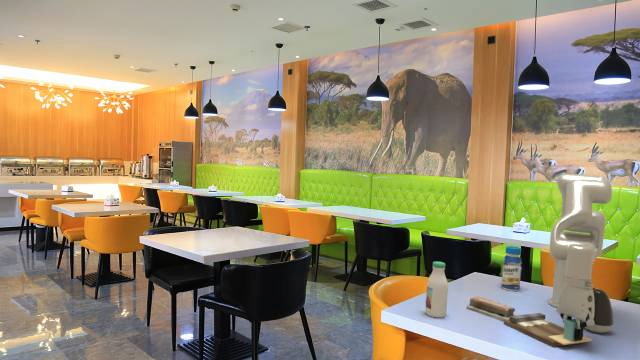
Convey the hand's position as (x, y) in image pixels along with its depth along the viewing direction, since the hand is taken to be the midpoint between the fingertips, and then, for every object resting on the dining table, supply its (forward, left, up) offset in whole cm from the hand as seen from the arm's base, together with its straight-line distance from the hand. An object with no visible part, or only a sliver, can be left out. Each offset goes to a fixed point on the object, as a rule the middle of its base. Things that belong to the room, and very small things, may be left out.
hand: (572, 337), depth 150 cm
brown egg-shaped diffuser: (-22, -8, -3) cm, 24 cm away
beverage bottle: (-33, -59, -3) cm, 67 cm away
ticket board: (0, -11, -3) cm, 12 cm away
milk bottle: (+27, -37, -3) cm, 46 cm away
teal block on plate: (0, -1, -1) cm, 1 cm away
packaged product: (+3, -33, -3) cm, 33 cm away
